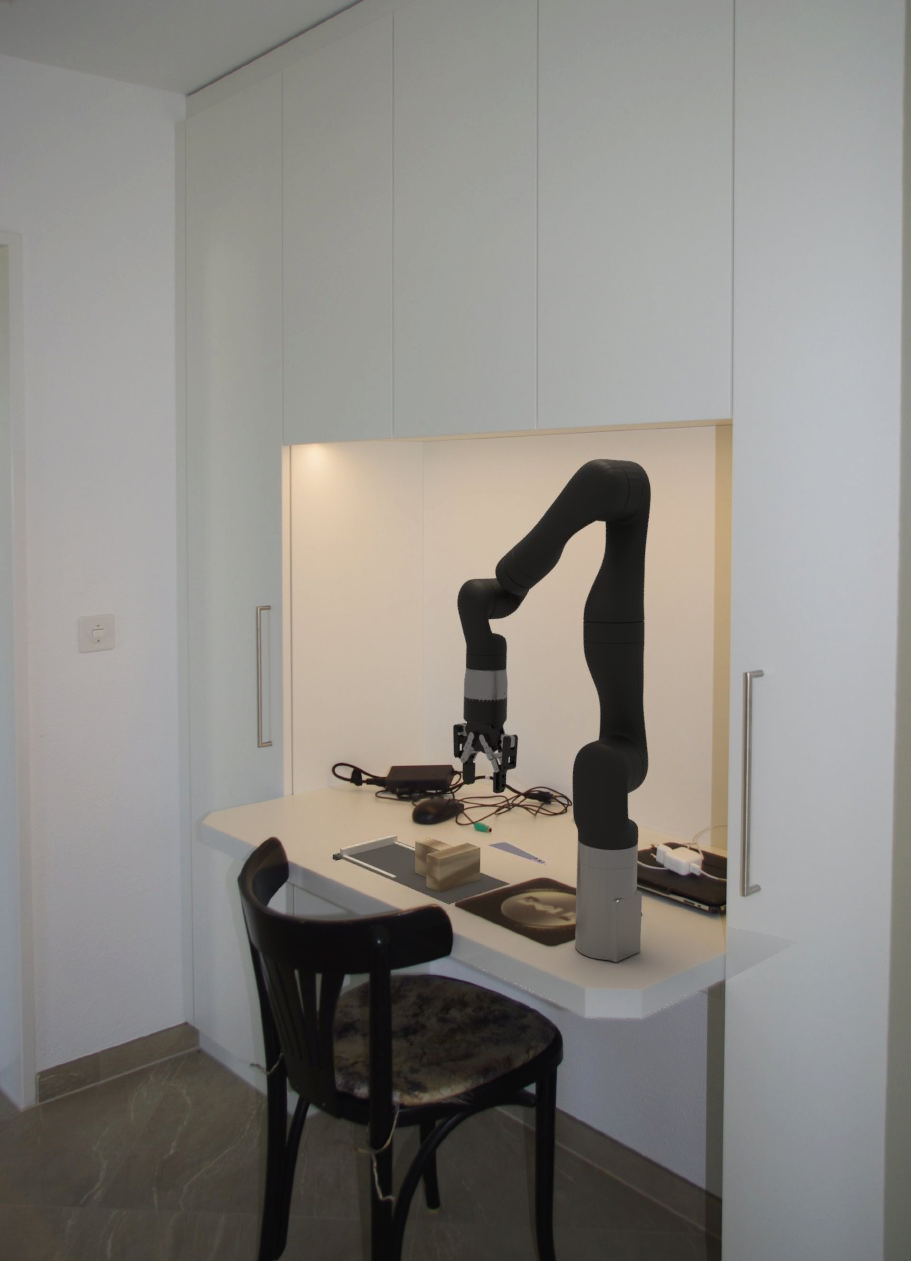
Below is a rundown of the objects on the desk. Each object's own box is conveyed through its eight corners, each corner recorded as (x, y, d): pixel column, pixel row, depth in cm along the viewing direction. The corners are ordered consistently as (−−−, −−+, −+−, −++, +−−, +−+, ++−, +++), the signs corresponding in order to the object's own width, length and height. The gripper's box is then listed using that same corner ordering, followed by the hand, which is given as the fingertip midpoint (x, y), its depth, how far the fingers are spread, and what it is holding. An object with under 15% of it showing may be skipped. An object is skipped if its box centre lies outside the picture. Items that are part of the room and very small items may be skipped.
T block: (479, 879, 183) (480, 847, 182) (439, 892, 176) (439, 859, 175) (441, 864, 190) (442, 834, 190) (401, 876, 183) (401, 844, 183)
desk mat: (509, 888, 180) (510, 875, 180) (448, 908, 170) (448, 895, 170) (392, 843, 205) (392, 832, 205) (332, 858, 195) (332, 847, 195)
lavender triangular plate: (505, 840, 206) (548, 861, 193) (505, 845, 206) (548, 866, 193) (474, 846, 202) (516, 868, 189) (474, 850, 202) (516, 873, 189)
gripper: (530, 697, 169) (528, 793, 170) (472, 686, 179) (471, 776, 181) (499, 702, 163) (497, 800, 165) (441, 690, 174) (440, 783, 176)
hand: (483, 787), depth 173 cm, fingers open, 7 cm apart
